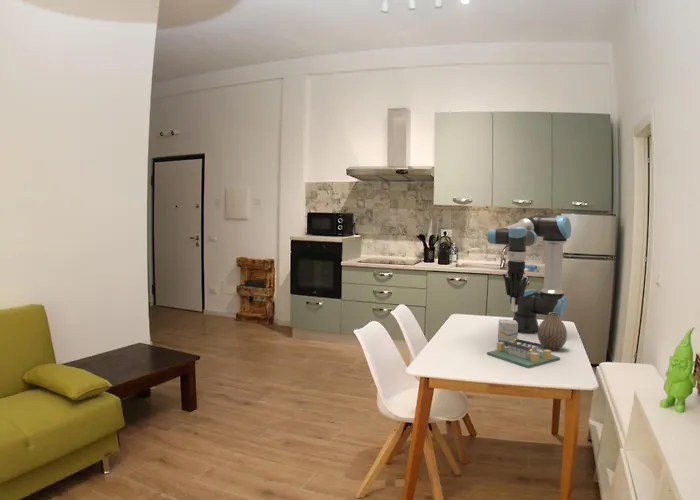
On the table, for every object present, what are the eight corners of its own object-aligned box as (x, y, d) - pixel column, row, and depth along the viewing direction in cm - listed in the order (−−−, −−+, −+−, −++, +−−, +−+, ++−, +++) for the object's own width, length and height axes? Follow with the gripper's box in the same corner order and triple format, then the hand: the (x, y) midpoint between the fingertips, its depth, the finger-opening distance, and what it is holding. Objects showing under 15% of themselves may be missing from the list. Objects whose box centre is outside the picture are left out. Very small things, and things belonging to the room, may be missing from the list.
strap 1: (507, 342, 224) (507, 340, 224) (534, 351, 212) (535, 349, 212) (503, 343, 222) (503, 341, 222) (530, 352, 210) (530, 350, 210)
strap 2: (517, 340, 229) (517, 338, 229) (544, 346, 217) (544, 344, 217) (513, 341, 227) (513, 339, 227) (540, 347, 215) (540, 345, 215)
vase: (537, 350, 232) (539, 314, 230) (536, 343, 244) (538, 309, 242) (567, 353, 227) (569, 317, 226) (565, 346, 239) (567, 311, 238)
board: (518, 347, 235) (518, 337, 235) (559, 359, 217) (560, 349, 217) (487, 354, 222) (487, 344, 222) (528, 368, 204) (529, 356, 204)
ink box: (517, 347, 236) (518, 323, 235) (499, 345, 238) (500, 322, 237) (514, 342, 245) (516, 319, 244) (497, 341, 246) (498, 318, 245)
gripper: (499, 259, 223) (497, 309, 226) (523, 262, 212) (521, 315, 215) (509, 258, 227) (507, 307, 230) (534, 261, 217) (531, 313, 219)
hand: (514, 311), depth 222 cm, fingers closed
